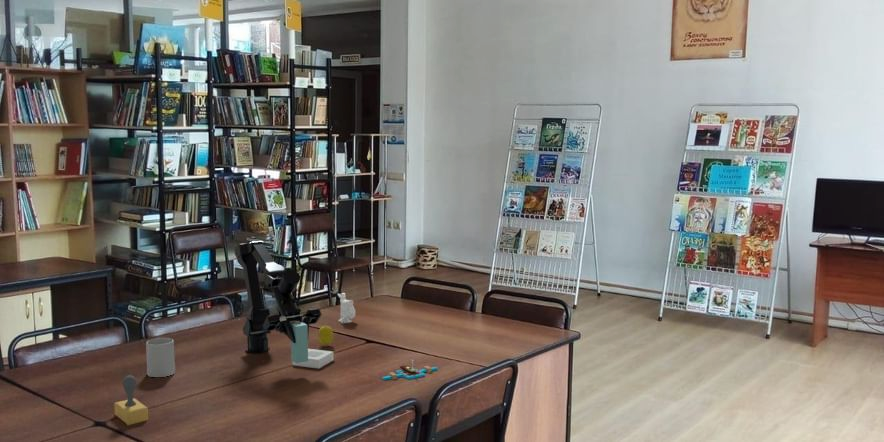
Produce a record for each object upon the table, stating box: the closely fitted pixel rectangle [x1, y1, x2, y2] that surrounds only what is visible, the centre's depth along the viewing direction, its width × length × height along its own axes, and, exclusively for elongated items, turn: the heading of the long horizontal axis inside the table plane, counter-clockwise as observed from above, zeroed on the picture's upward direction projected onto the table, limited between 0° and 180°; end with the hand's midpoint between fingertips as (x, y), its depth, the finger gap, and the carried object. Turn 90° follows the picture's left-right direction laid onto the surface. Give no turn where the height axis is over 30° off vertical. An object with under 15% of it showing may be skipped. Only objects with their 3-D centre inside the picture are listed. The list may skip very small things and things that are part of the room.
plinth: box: [292, 348, 334, 369], centre depth 262 cm, size 10×10×3 cm
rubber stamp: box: [113, 374, 149, 426], centre depth 211 cm, size 10×6×12 cm, turn 41°
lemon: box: [317, 324, 334, 347], centre depth 281 cm, size 6×6×8 cm
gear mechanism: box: [381, 360, 438, 381], centre depth 250 cm, size 20×5×9 cm
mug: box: [145, 337, 176, 377], centre depth 250 cm, size 12×8×11 cm
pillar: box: [290, 322, 309, 363], centre depth 248 cm, size 4×4×12 cm
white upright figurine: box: [337, 292, 356, 324], centre depth 316 cm, size 8×7×12 cm
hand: (301, 341), depth 246 cm, fingers closed on pillar, 4 cm apart
